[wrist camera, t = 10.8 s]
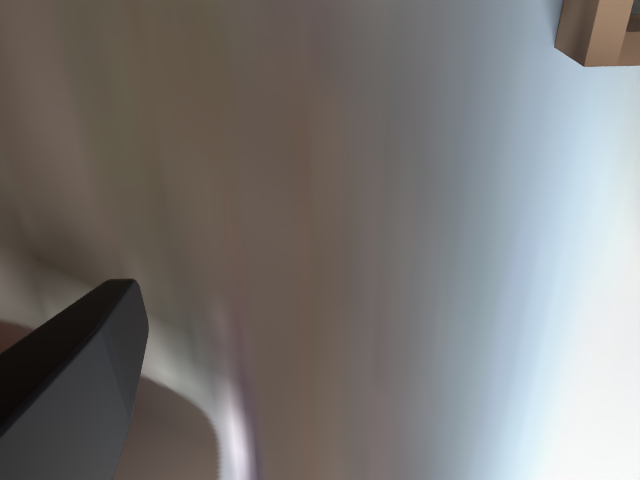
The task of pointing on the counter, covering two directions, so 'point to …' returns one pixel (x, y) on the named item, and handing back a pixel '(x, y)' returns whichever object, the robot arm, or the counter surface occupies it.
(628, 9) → the walnut holder
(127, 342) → the robot arm
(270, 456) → the counter surface
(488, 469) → the counter surface
